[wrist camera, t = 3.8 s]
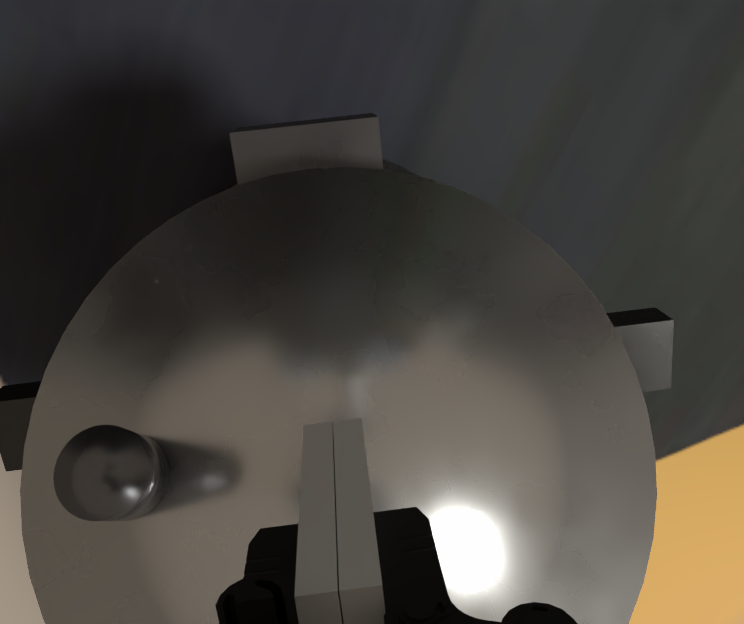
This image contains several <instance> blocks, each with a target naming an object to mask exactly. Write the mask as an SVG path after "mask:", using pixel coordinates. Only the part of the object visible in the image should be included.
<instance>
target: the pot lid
mask: <svg viewBox="0 0 744 624" xmlns="http://www.w3.org/2000/svg"><path fill="white" fill-rule="evenodd" d="M356 418H362V426H363V434H364V442H365V450H366V458H367V466H368V474H369V482H370V490H371V498H372V506H373V512H379V511H387V510H394V509H402V508H410V507H417V508H418V509H419V510H420V511H421V512H422V513H423V514H424V515H425V516H426V517H427V518H428V519H429V522H430V526H431V530H432V533H433V537H434V541H435V545H436V549H437V553H438V557H439V561H440V565H441V569H442V573H443V577H444V581H445V585H446V589H447V592H448V595H449V598H450V600H451V602H452V603H453V604H454V605H455V606H456V608H458V609H459V610H461V611H462V612H463V613H465V614H467V615H469V616H472V617H474V618H478V619H483V620H488V621H497V622H502V619H503V617H504V616H505V615H506V613H507V612H508V611H509V610H510V609H512V608H514V607H516V606H518V605H520V604H525V603H531V602H538V603H547V604H551V605H553V606H556V607H558V608H560V609H563V610H564V611H565V612H566V613H567V614H569V615H570V616H571V617H572V618H573V619H574V620H575V621H576V622H577V623H578V624H628V623H629V620H630V618H631V615H632V612H633V609H634V607H635V604H636V601H637V599H638V596H639V593H640V590H641V588H642V584H643V582H644V578H645V573H646V568H647V564H648V559H649V555H650V550H651V546H652V541H653V533H654V522H655V510H656V498H657V488H656V466H655V450H654V444H653V438H652V433H651V427H650V421H649V415H648V410H647V407H646V404H645V400H644V397H643V394H642V391H641V387H640V384H639V381H638V378H637V374H636V371H635V369H634V367H633V365H632V362H631V360H630V358H629V356H628V354H627V351H626V349H625V347H624V345H623V342H622V340H621V338H620V336H619V334H618V332H617V331H616V329H615V327H614V326H613V324H612V322H611V321H610V319H609V317H608V316H607V314H606V312H605V311H604V309H603V308H602V306H601V304H600V303H599V301H598V300H597V299H596V297H595V296H594V295H593V293H592V292H591V291H590V290H589V288H588V287H587V286H586V285H585V283H584V282H583V281H582V280H581V278H580V277H579V276H578V274H577V273H576V272H575V271H574V270H573V269H572V268H571V267H570V266H569V265H568V264H567V263H566V262H565V261H564V260H563V259H562V258H561V257H560V256H559V255H558V254H557V253H556V252H555V251H554V250H553V249H552V248H551V247H550V246H549V245H548V244H547V243H546V242H544V241H543V240H542V239H540V238H539V237H538V236H537V235H535V234H534V233H533V232H531V231H530V230H529V229H528V228H526V227H525V226H524V225H522V224H521V223H520V222H519V221H517V220H515V219H514V218H512V217H510V216H509V215H507V214H505V213H504V212H502V211H500V210H499V209H497V208H495V207H494V206H492V205H490V204H489V203H487V202H485V201H483V200H481V199H478V198H476V197H474V196H472V195H470V194H467V193H465V192H463V191H461V190H458V189H456V188H454V187H451V186H448V185H445V184H442V183H439V182H435V181H432V180H429V179H426V178H422V177H419V176H415V175H410V174H404V173H399V172H394V171H388V170H383V169H370V168H355V167H333V168H314V169H304V170H298V171H293V172H287V173H281V174H275V175H271V176H267V177H264V178H260V179H257V180H254V181H250V182H247V183H243V184H240V185H237V186H234V187H232V188H230V189H227V190H225V191H223V192H220V193H218V194H216V195H213V196H211V197H209V198H206V199H204V200H202V201H200V202H198V203H197V204H195V205H193V206H191V207H190V208H188V209H186V210H184V211H183V212H181V213H179V214H177V215H176V216H174V217H172V218H170V219H169V220H168V221H166V222H165V223H164V224H162V225H161V226H160V227H158V228H157V229H156V230H154V231H153V232H151V233H150V234H149V235H147V236H146V237H145V238H143V239H142V240H141V241H139V242H138V243H137V244H136V245H135V246H134V247H133V248H132V249H131V250H130V251H129V252H128V253H127V254H126V255H124V256H123V257H122V258H121V259H120V260H119V261H118V262H117V263H116V264H115V265H114V266H113V267H112V268H111V269H110V270H109V271H108V272H107V274H106V275H105V276H104V277H103V278H102V280H101V281H100V282H99V283H98V284H97V286H96V287H95V288H94V289H93V290H92V292H91V293H90V294H89V295H88V296H87V297H86V299H85V300H84V302H83V304H82V305H81V307H80V308H79V310H78V311H77V313H76V314H75V316H74V317H73V319H72V320H71V322H70V323H69V325H68V326H67V328H66V330H65V331H64V333H63V335H62V337H61V339H60V341H59V343H58V345H57V347H56V349H55V351H54V353H53V355H52V357H51V359H50V361H49V363H48V365H47V368H46V370H45V373H44V376H43V379H42V382H41V385H40V388H39V390H38V393H37V396H36V399H35V402H34V405H33V408H32V413H31V417H30V422H29V427H28V431H27V436H26V441H25V445H24V454H23V465H22V477H21V489H20V493H21V516H22V535H23V541H24V546H25V552H26V558H27V563H28V569H29V574H30V579H31V582H32V585H33V588H34V591H35V594H36V597H37V600H38V604H39V607H40V610H41V613H42V616H43V619H44V621H45V623H46V624H219V620H218V616H217V611H216V606H215V605H216V603H217V601H218V599H219V596H220V595H221V594H222V593H223V592H224V591H225V590H226V589H227V588H228V587H229V586H230V585H232V584H234V583H236V582H237V581H239V580H241V579H243V577H244V570H245V564H246V558H247V551H248V545H249V543H250V542H251V540H252V539H253V538H254V536H255V535H256V533H257V532H258V531H259V529H260V528H268V527H276V526H283V525H291V524H298V521H299V503H300V484H301V466H302V448H303V429H304V425H308V424H316V423H324V422H332V424H333V421H340V420H348V419H356Z"/></svg>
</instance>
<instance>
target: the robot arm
mask: <svg viewBox="0 0 744 624" xmlns="http://www.w3.org/2000/svg"><path fill="white" fill-rule="evenodd" d="M215 606H216V611H217V616H218V620H219V624H578V623H577V622H576V621H575V620H574V619H573V618H572V617H571V616H570V615H569V614H567V613H566V612H565V611H564V610H563V609H560V608H558V607H556V606H553V605H551V604H547V603H538V602H531V603H525V604H520V605H518V606H516V607H514V608H512V609H510V610H509V611H508V612H507V613H506V615H505V616H504V617H503V619H502V622H497V621H488V620H483V619H478V618H474V617H472V616H469V615H467V614H465V613H463V612H462V611H461V610H459V609H458V608H456V606H455V605H454V604H453V603H452V602H451V600H450V598H449V595H448V592H447V589H446V585H445V581H444V577H443V573H442V569H441V565H440V561H439V557H438V553H437V549H436V545H435V541H434V537H433V533H432V530H431V526H430V522H429V519H428V518H427V517H426V516H425V515H424V514H423V513H422V512H421V511H420V510H419V509H418V508H417V507H410V508H402V509H394V510H387V511H379V512H373V506H372V498H371V490H370V482H369V474H368V466H367V458H366V450H365V442H364V434H363V426H362V418H356V419H348V420H340V421H333V424H332V422H324V423H316V424H308V425H304V429H303V448H302V466H301V484H300V503H299V521H298V524H291V525H283V526H276V527H268V528H260V529H259V531H258V532H257V533H256V535H255V536H254V538H253V539H252V540H251V542H250V543H249V545H248V551H247V558H246V564H245V570H244V577H243V579H241V580H239V581H237V582H236V583H234V584H232V585H230V586H229V587H228V588H227V589H226V590H225V591H224V592H223V593H222V594H221V595H220V596H219V599H218V601H217V603H216V605H215Z"/></svg>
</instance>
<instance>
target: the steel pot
mask: <svg viewBox="0 0 744 624" xmlns="http://www.w3.org/2000/svg"><path fill="white" fill-rule="evenodd" d="M229 134H230V140H231V146H232V152H233V159H234V165H235V171H236V177H237V183H235V184H234V185H233V186H232V187H234V186H237V185H240V184H243V183H247V182H250V181H254V180H257V179H260V178H264V177H267V176H271V175H275V174H281V173H287V172H293V171H298V170H304V169H314V168H333V167H355V168H370V169H383V170H388V171H394V172H399V173H404V174H410V175H415V176H418V175H416V174H414V173H413V172H411V171H409V170H407V169H405V168H403V167H401V166H399V165H397V164H394V163H391V162H389V161H386V160H383V159H382V150H381V139H380V129H379V118H378V116H376V115H375V114H373V113H368V114H359V115H350V116H341V117H331V118H322V119H313V120H304V121H295V122H285V123H276V124H267V125H258V126H249V127H239V128H238V129H236V130H234V131H232V132H230V133H229ZM419 177H420V176H419ZM232 187H231V188H232ZM606 314H607V316H608V317H609V319H610V321H611V322H612V324H613V326H614V327H615V329H616V331H617V332H618V334H619V336H620V338H621V340H622V342H623V345H624V347H625V349H626V351H627V354H628V356H629V358H630V360H631V362H632V365H633V367H634V369H635V371H636V374H637V378H638V381H639V384H640V387H641V391H642V392H646V391H654V390H662V389H670V388H671V370H672V347H673V323H674V320H673V319H671V318H670V317H669V316H667V315H666V314H664V313H663V312H661V311H660V310H658V309H657V308H647V309H638V310H630V311H622V312H613V313H606ZM41 382H42V381H40V382H32V383H24V384H15V385H7V386H3V387H2V388H0V453H1V457H2V460H3V463H4V466H5V469H6V471H13V470H21V469H22V465H23V454H24V445H25V441H26V436H27V431H28V427H29V422H30V417H31V413H32V408H33V405H34V402H35V399H36V396H37V393H38V390H39V388H40V385H41Z"/></svg>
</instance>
